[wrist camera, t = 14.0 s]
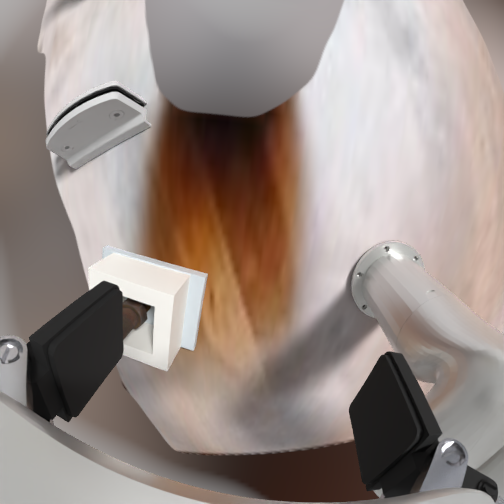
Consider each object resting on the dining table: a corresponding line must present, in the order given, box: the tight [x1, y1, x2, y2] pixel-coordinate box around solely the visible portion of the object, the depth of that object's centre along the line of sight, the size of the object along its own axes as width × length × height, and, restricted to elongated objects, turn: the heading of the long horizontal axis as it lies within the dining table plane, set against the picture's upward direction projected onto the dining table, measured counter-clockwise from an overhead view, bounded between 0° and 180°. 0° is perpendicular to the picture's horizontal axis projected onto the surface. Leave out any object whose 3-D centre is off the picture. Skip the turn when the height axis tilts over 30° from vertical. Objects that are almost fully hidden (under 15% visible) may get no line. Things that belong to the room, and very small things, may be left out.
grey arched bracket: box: [46, 81, 151, 169], centre depth 32 cm, size 17×5×10 cm, turn 108°
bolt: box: [123, 298, 151, 340], centre depth 35 cm, size 6×5×15 cm
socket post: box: [89, 245, 208, 371], centre depth 39 cm, size 18×14×8 cm
